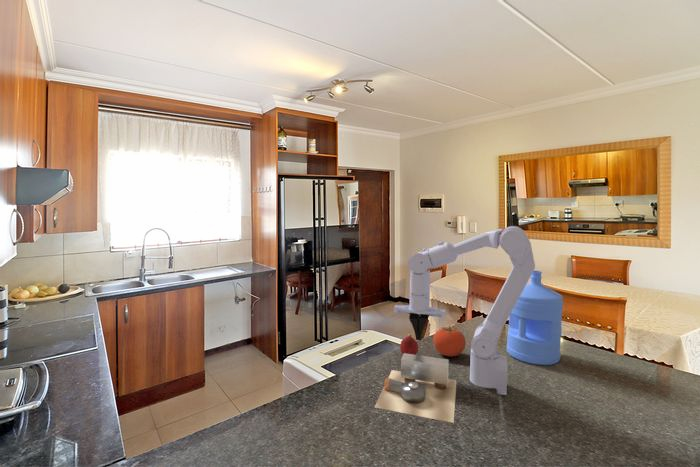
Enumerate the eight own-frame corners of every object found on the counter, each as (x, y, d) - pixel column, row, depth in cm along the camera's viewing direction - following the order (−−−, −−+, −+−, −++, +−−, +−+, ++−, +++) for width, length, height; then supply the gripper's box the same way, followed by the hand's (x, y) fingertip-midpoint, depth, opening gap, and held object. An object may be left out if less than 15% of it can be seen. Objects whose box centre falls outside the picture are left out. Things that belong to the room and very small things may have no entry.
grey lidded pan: (428, 395, 88) (429, 382, 87) (419, 406, 83) (420, 393, 82) (391, 383, 94) (391, 371, 93) (380, 393, 89) (380, 380, 88)
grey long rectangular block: (448, 377, 93) (448, 359, 93) (447, 384, 89) (447, 365, 89) (403, 370, 97) (403, 353, 97) (400, 377, 93) (401, 359, 93)
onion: (417, 363, 108) (418, 338, 108) (399, 361, 109) (399, 336, 109) (418, 355, 114) (418, 331, 113) (400, 354, 115) (400, 330, 115)
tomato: (443, 346, 122) (443, 318, 121) (470, 355, 114) (471, 325, 114) (426, 355, 115) (427, 325, 114) (455, 365, 107) (456, 333, 106)
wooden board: (456, 384, 96) (456, 373, 95) (453, 428, 77) (453, 414, 76) (391, 374, 101) (392, 364, 101) (374, 412, 82) (374, 399, 82)
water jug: (523, 342, 125) (527, 265, 123) (569, 359, 112) (574, 273, 110) (496, 352, 117) (499, 269, 115) (542, 370, 104) (547, 278, 102)
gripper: (446, 292, 103) (445, 337, 104) (397, 288, 107) (396, 331, 108) (444, 298, 96) (443, 346, 97) (392, 293, 101) (392, 339, 102)
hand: (418, 339), depth 102 cm, fingers closed
